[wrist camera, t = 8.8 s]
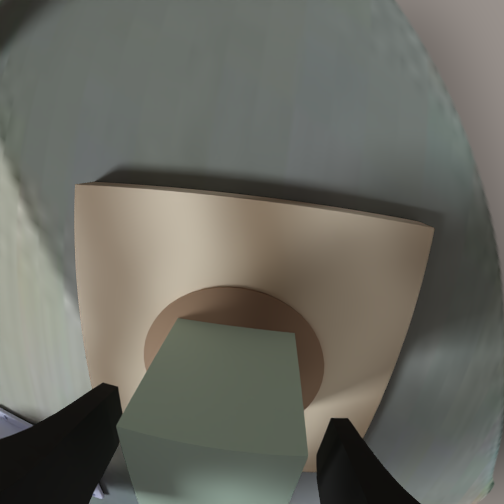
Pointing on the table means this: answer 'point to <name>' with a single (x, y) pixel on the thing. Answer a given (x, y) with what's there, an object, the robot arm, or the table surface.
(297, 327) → the display base
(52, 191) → the table surface
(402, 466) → the table surface
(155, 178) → the table surface
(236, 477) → the green block
